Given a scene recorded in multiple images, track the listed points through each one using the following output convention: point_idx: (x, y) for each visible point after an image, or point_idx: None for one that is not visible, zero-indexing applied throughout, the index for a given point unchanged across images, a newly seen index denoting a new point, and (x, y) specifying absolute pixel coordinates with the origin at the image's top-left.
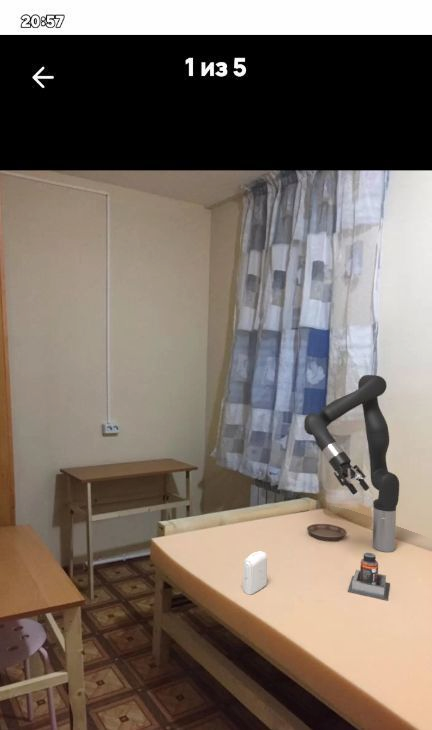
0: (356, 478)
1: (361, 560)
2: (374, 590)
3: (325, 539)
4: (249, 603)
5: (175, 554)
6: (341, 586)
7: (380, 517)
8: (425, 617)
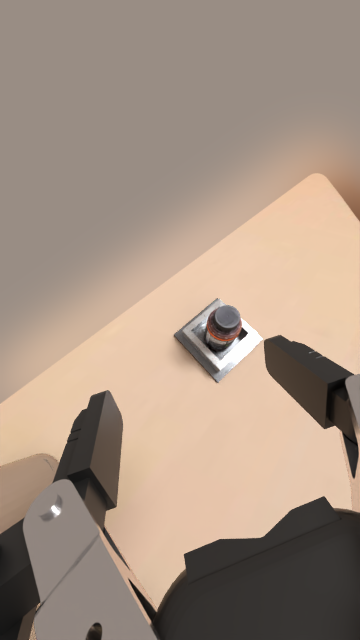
0: (127, 570)
1: (239, 330)
2: None
3: None
4: None
5: None
6: (261, 358)
7: None
8: (200, 256)
